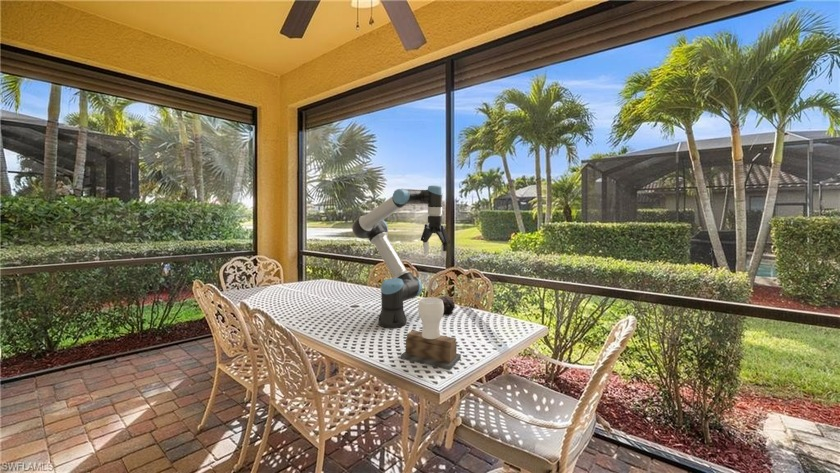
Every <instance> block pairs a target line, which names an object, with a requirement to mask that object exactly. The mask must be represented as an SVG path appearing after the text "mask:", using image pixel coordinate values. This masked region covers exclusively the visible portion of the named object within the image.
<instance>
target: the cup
mask: <svg viewBox="0 0 840 473" xmlns="http://www.w3.org/2000/svg"><path fill="white" fill-rule="evenodd" d="M439 298H440V297H431V296H430V297H423V298H420V299H419V302H418V305H417V308H418V310H417V311H418V316H419V318H420V320H421V322H422V323H421V324H422V330H421V332H422V337H423V338H426V339H437V338H439V337H440V335H441V331H440V324H441V323H440V322H441V320H442V319H443V316H444V315H443V313H444V305H443V300H442V299H439Z"/></svg>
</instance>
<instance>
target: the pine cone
mask: <svg viewBox="0 0 840 473" xmlns="http://www.w3.org/2000/svg"><path fill="white" fill-rule="evenodd" d="M438 298H439V299H442V300H443V305H444V313H443V316H444V315H445V316H446V315H448V316H449V315H452V314H453V313H454V312H453V311H454V309H455V308H456V305H455V301H454V300H453V298H452V297H451V296H445V295H444V296H443V295H442V296H440V297H438Z"/></svg>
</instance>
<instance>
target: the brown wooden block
mask: <svg viewBox="0 0 840 473" xmlns="http://www.w3.org/2000/svg"><path fill="white" fill-rule="evenodd" d="M461 358H462V355H461V353H458V352H457V338H456V337H451V336H447V335H446V336H445V335H441V334H440V337H439V338H437V339H426V338H423V337H422V331H419V330H413V329H412V330H410V331H409V332H408V333H407V334H406V338H405V351H404V352H403V353H401V355H400V360H401V359H402V360H406V361H409V362H415V363H419V364H422V365H423V364H424V365H426V366H427V365H428V366H432V367H436V368H441V369H445V370H448V371H449V370H451V369H452V368H454V366H455V365H456V364H457V363H458V362H459V360H460V359H461Z"/></svg>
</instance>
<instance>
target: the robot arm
mask: <svg viewBox="0 0 840 473" xmlns="http://www.w3.org/2000/svg"><path fill="white" fill-rule="evenodd" d="M443 194H444V193H443V186H442V185H428V186H427V189H407V188H398V189H395V190H394V191H393V193H392V196H391V197H389V198H388V199H387V200H385V201H383V202H381V204H379V205H378V206H377V207H375V208H374V209H372V210H370V211H369V212H368V213H366V214H365V215H361V216H359V217H357V219H355V220H354V222H353V223H352V226H351V230H352V232H353V234H354V236H355V237H357V238H359V239H368V241H369V242H370V244H372V245H374V246H375V248H376V249H377V251H378V253H379V255H380V256H381V258H382V260H383V262H384V263H385V265H386V267H387V268H388V271H389V272H390V274H391V275H392V278H388V279H386V280H383V282H382V283H381V288H380V293H381V294H380V296H381V297H380V298H381V300H380V301H381V311H380V312H379V317H378V320H377V321H378V322H377V323H378V326H380V327H381V328H386V329H396V328H401V327H405V326H406V325H407V324H408V323H407V316H406V313H405V310H404V302H405V301H408V300H411V299H414V298H415V297H418V296H419V295H420V294H421V293H422V288H423V284H422V281H421V280H420V278H419V277H417V276H415V275H413V274H412V272H411V271H409V270H407V268H406V267H405V265H404V263H403V261H402V260H401V258H400V256H399V255H398V252H396V250H395V248H394V246H393V244H392V242H391V241H390V239H389V237H388V236H389V233H388V231H389V229H388V228H389V227H388V223H387V222H386V221H385V219H386V218H388V217H390V216H391V215H393V214H394V213H395V212H397V211H398V210H400V209H401V208H404V207H405V206H406V205H427V215H428V216H427V223H425V224H424V229H423V231H422V235H421V236H420V241H421V242H423V244H422V246H423V255H426V256H427V255H429V253H430V252H429V249H430V248H429V239H430V238H431V236H432V234H436V235H437V236H438V239H439V241H440V243H441V245H440V246H441V247H440V248H441V250H440V254H441V258H442V259H443V258H447V250H448V245H449V244H451V242H450V237H449V234H448V231H447V226H446V225H445V224H442V223H443V216H442V215H443Z"/></svg>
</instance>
